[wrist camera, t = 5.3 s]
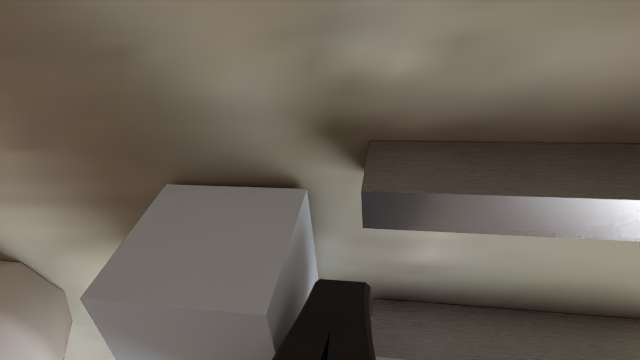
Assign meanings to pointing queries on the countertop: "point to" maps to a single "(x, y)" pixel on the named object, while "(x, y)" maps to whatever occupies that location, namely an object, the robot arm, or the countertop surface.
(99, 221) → the countertop surface
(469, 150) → the grey flat bars
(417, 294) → the countertop surface
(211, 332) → the block
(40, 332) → the salt shaker
